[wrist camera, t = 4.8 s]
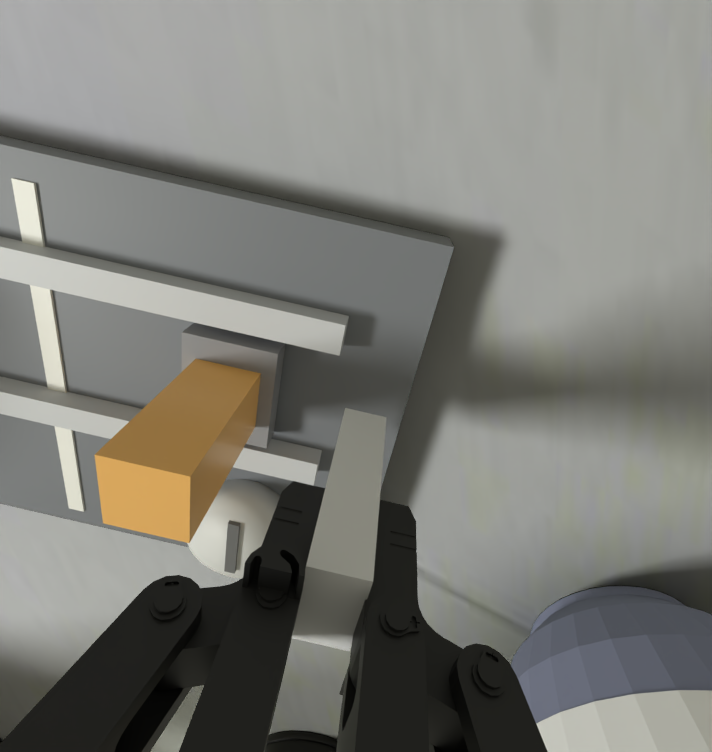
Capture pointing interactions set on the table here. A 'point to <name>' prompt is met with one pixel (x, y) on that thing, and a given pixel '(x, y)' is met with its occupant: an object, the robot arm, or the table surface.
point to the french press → (300, 742)
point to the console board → (180, 310)
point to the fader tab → (191, 434)
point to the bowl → (619, 673)
